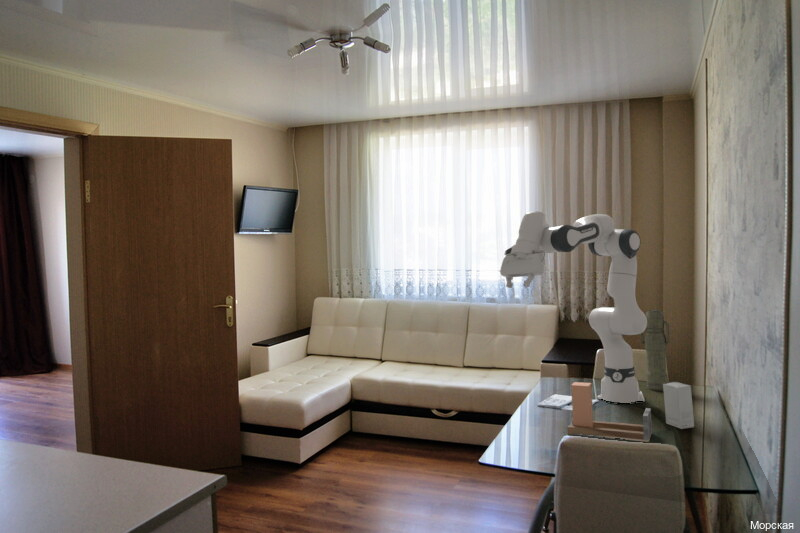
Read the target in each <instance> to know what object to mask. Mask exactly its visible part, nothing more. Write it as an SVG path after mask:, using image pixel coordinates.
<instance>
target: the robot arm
mask: <svg viewBox="0 0 800 533" xmlns="http://www.w3.org/2000/svg"><path fill="white" fill-rule="evenodd" d="M615 227H616V226H615V221H614V219H613V218H612V216H610V215H608V214H605V213H603V214H602V213H595V214H589V215H586V216H583V217H580V218H579V219H577V220H575V221H574V222H573V224H572V225H571V224H564V225H563V224H562V225H558V226H552V227H551V226H550V225H549V224H548V223H547V221H546V215H545V213H543V212H541V211H527V212H526V213H525V214H524V215H523V216H522V220H521V221H520V225H519V230H518V238H516V242H515V244H514V245H512V246H511V247H509V248H507V249H506V250H505V251H504V258H503V260H502V263H501V266H500V275H501V276H502V277H505V279H506V288H508V289H511V288H513V285H514V283H513V282H512V281H513V279H514V278H519V277H520V278H521V277H526V280H525V281H524V282H523V283H522V284H523V287H525V288H529V287H530V285H531V283H532V282H533V280H534V279H535V277H536V276H542V275H543V273H544V270H545V264H546V263H545V262H546V260H545V259H546V254H553V253H554V254H555V253H570V252H572V251H573V250H575V249H576V248H577V247H579V245H580V244H588V248H589V251H590V253H592V255H595V256H598V257H611V258H610V259H611V261H610V266H609V271H608V278H607V279H608V280H607V286H606V291H607V294H608V295H609V296H610V297H611V298H613V300H614V303H615V305H614V306H615V307H612V306H611V307H609V306H602V307H596V308H594V309H592V310H591V311H590V314H589V315H588V323H589V326H590V327H591V329H592V330H594V331H595V333H597V334H596V335H598V337H599V339H600V341H601V343H602V347H603V353H604V366H603V367H604V369H603V371H604V376H603V378H601V381H600V387H601V388H600V394H599V395H597V399H596V400H601V399H603V400H602V401H604V400H606V401H612V402H620V403H630V404H632V403H631V402H635V401H643V402H642V403H644V402H646V401H645V399H646V398H645V397H644V394H643V392H642V391H641V389H640V387H639V381H638V379H637V378H636V376H635V375H636V369H635V366H634V357H633V355H634V353H633V348H632V346H631V345H630V344H629V343H628V342H626V340H625V339H624V337H623V335H625V336H626V335H627V336H633V335H635V336H637V335H641V333H643V334H644V332H645V331H646V327H647V318H646V314H645V313H644V312H643V310H641V308H640V307H639V304H638V302H637V299H636V297H637V296H636V287H637V286H636V285H637V275H638V259H637V253H638V251H639V250H640V247H641V243H642V242H641V236H640V235H639V233H638V232H637V231H636V230H634V229H630V228H624V229H623V228H622V229H619V228H618V229H617V228H615ZM606 401H605V402H606Z"/></svg>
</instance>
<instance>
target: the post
mask: <svg viewBox="0 0 800 533" xmlns="http://www.w3.org/2000/svg"><path fill="white" fill-rule="evenodd" d="M592 386H593V384H592V382H582V381H581V382H579V381H574V382H573V383H572V384H571V385H570V387H571V396H572V403H571V405H572V410H571V412H572V420H573V426H583V427H593V421H594V413H593V410H594V409H593V406H594V405H592V400H593V392H592V390H593V387H592Z"/></svg>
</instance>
